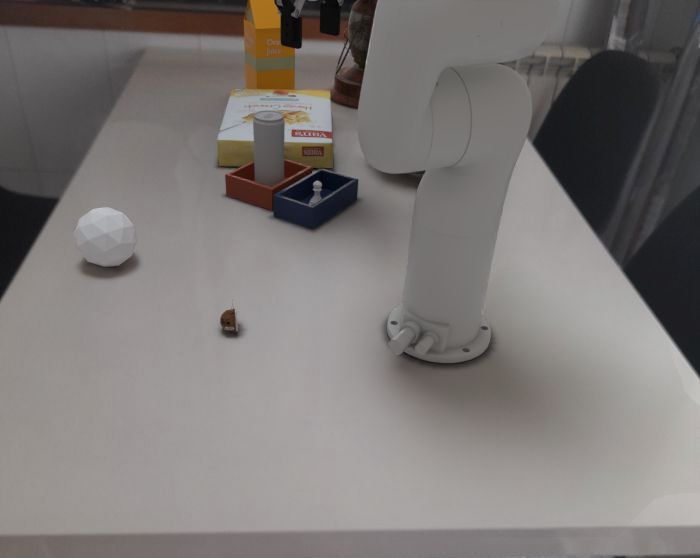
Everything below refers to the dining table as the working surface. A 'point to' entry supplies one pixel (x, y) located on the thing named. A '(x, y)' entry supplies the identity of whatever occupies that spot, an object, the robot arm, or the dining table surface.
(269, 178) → the beverage can
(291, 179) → the terracotta bin
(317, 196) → the chess pawn
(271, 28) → the orange juice
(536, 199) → the dining table surface
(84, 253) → the geometric ball
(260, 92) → the cereal box
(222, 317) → the chocolate
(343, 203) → the navy bin
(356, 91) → the lantern
